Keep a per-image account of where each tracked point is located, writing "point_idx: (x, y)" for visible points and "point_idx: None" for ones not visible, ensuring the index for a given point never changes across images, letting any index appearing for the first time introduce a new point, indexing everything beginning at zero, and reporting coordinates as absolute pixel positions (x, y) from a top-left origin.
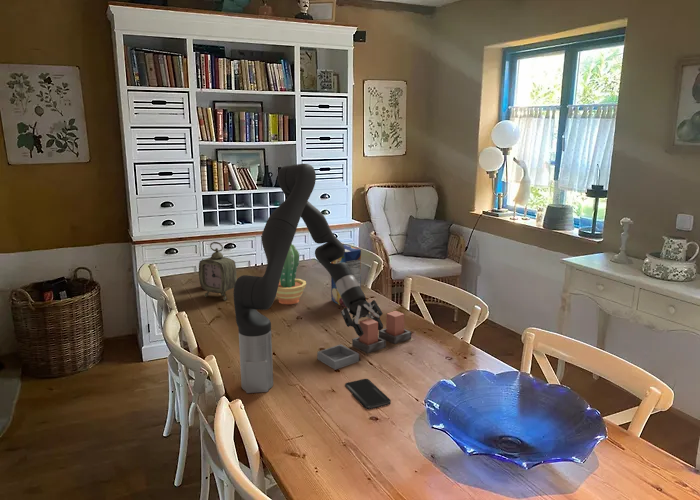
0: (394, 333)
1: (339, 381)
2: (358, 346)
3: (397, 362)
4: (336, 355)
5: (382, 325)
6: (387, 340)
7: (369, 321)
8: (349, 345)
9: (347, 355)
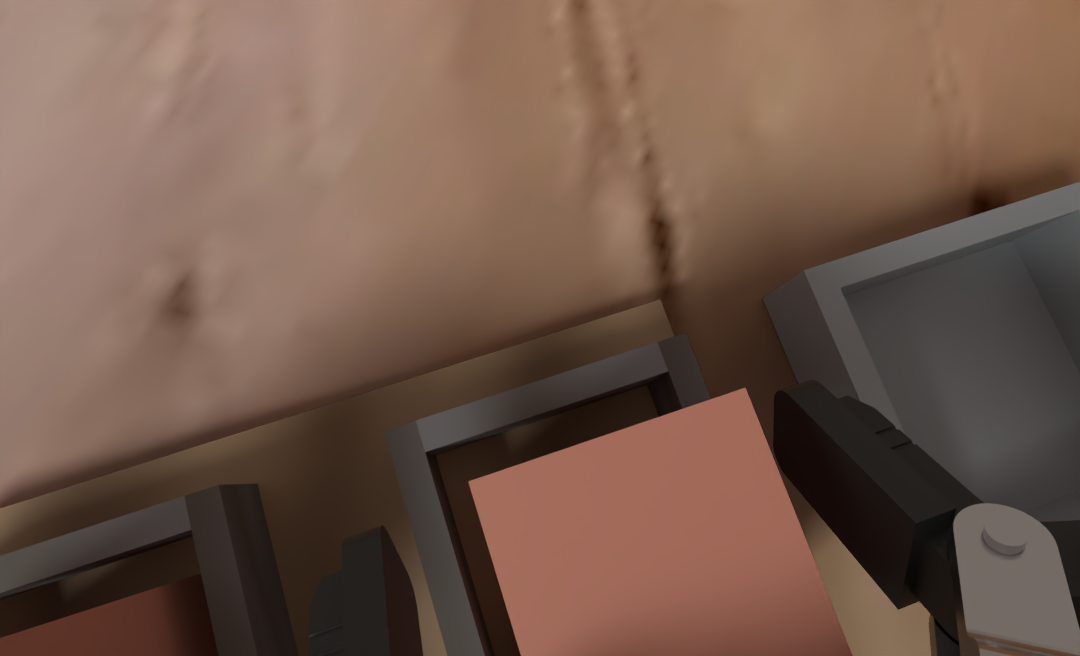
0: (148, 598)
1: (1006, 42)
2: None
3: (411, 171)
4: None
5: (329, 590)
6: (285, 615)
7: (644, 585)
8: None
9: None
